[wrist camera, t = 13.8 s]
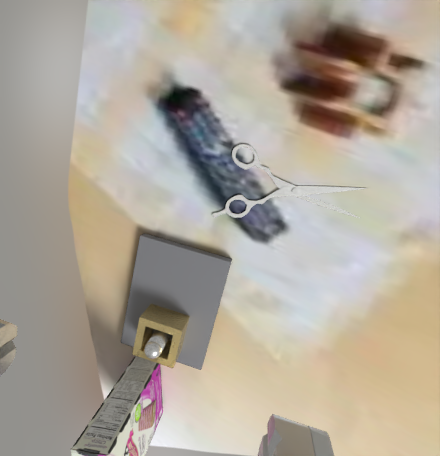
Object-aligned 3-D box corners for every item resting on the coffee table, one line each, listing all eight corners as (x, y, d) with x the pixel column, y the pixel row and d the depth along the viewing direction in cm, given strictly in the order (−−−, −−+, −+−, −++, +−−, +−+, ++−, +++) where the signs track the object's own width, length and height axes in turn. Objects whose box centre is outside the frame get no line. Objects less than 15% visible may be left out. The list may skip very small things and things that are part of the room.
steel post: (161, 318, 42) (142, 344, 35) (175, 323, 41) (159, 350, 35) (158, 331, 42) (139, 359, 36) (172, 336, 42) (156, 365, 36)
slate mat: (144, 233, 41) (140, 235, 39) (232, 259, 39) (230, 262, 38) (125, 337, 45) (120, 342, 44) (203, 363, 44) (201, 370, 43)
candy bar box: (165, 412, 47) (115, 532, 32) (138, 408, 48) (77, 524, 32) (162, 357, 45) (107, 457, 29) (134, 354, 46) (66, 450, 30)
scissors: (222, 141, 36) (378, 162, 33) (223, 141, 37) (375, 162, 34) (212, 217, 38) (355, 242, 36) (213, 216, 39) (354, 241, 37)
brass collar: (151, 303, 41) (139, 317, 38) (189, 316, 41) (182, 331, 37) (144, 337, 43) (132, 354, 39) (181, 350, 42) (173, 368, 38)
